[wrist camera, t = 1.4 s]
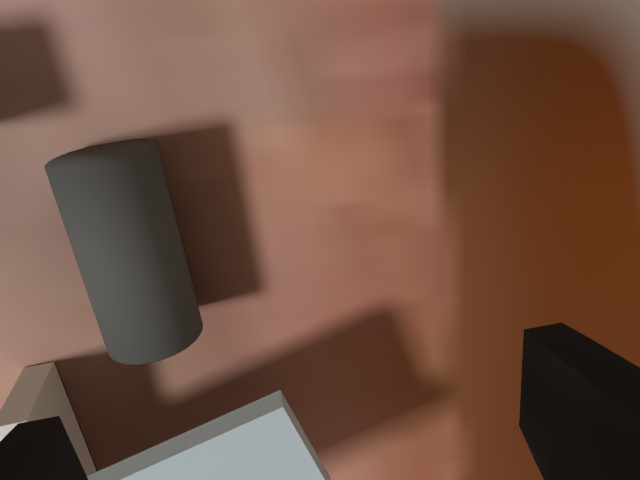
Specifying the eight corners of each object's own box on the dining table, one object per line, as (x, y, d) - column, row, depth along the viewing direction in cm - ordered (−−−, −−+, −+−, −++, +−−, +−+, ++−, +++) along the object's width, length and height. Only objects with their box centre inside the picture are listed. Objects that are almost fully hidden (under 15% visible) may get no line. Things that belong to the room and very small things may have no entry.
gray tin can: (173, 301, 20) (220, 329, 18) (92, 342, 18) (134, 377, 16) (127, 135, 18) (176, 144, 16) (29, 163, 16) (69, 177, 14)
